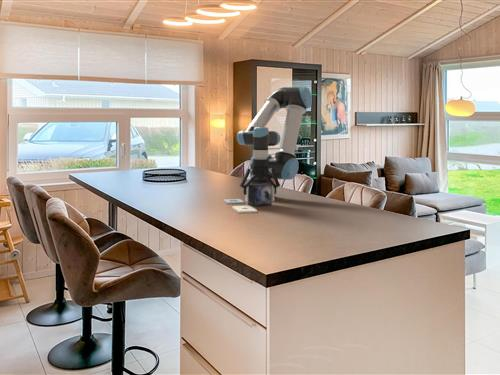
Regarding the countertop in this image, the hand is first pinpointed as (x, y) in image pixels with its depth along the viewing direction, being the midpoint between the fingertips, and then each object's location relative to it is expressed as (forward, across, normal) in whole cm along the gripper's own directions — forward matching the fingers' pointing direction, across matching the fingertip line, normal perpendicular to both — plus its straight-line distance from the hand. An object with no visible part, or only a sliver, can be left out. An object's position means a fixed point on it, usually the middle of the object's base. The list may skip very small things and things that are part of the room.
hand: (259, 201), depth 238 cm
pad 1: (+2, +11, -11) cm, 16 cm away
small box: (+2, 0, 0) cm, 2 cm away
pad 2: (+2, +11, +12) cm, 16 cm away
